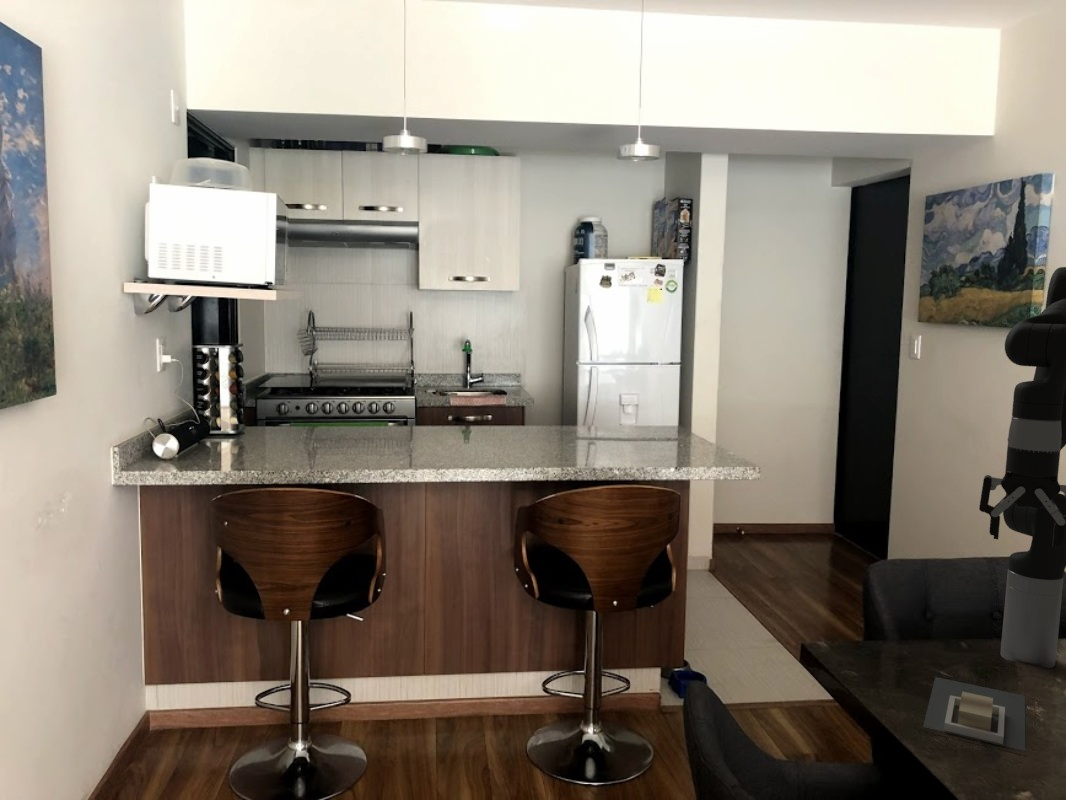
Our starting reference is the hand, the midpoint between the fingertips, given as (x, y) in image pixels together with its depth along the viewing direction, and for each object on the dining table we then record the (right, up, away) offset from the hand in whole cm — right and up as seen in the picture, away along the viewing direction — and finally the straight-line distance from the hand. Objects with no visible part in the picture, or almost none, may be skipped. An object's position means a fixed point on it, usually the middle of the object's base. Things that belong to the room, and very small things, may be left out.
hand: (1025, 542), depth 144 cm
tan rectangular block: (-11, -28, -6) cm, 30 cm away
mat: (-9, -28, -1) cm, 30 cm away
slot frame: (-11, -29, -6) cm, 31 cm away
